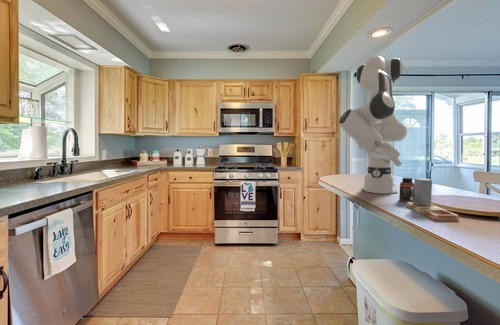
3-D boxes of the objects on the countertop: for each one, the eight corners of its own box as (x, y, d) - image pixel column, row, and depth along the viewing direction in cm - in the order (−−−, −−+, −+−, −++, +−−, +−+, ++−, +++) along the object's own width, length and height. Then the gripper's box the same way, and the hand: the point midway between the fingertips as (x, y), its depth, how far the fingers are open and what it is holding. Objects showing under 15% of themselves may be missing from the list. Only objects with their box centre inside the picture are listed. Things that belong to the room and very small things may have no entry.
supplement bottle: (416, 202, 118) (417, 179, 117) (402, 202, 119) (403, 179, 118) (410, 199, 124) (411, 177, 123) (397, 199, 125) (398, 177, 124)
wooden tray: (406, 206, 112) (406, 202, 112) (425, 206, 112) (425, 202, 111) (435, 220, 93) (435, 215, 93) (458, 220, 93) (458, 215, 92)
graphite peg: (413, 207, 110) (414, 178, 109) (423, 207, 110) (425, 178, 109) (419, 210, 106) (420, 180, 104) (430, 210, 105) (432, 180, 104)
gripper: (388, 135, 96) (413, 160, 96) (366, 136, 116) (387, 157, 116) (375, 147, 96) (401, 172, 97) (356, 146, 117) (377, 166, 117)
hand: (393, 163), depth 107 cm, fingers open, 8 cm apart
